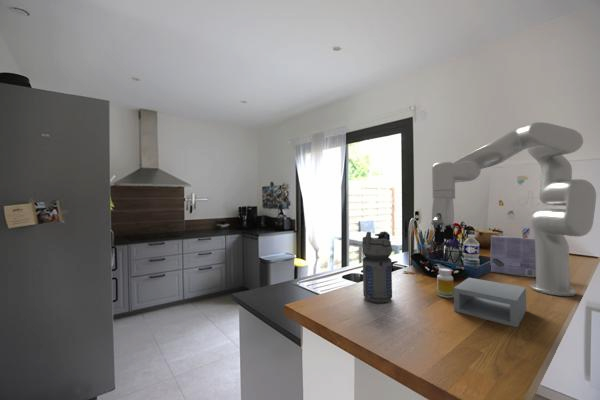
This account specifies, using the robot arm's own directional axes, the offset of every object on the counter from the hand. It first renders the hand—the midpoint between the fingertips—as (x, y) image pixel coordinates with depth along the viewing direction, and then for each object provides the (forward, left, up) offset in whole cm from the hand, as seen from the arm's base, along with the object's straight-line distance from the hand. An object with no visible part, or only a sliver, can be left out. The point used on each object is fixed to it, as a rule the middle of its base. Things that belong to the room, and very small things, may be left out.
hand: (444, 240), depth 100 cm
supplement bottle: (0, 0, -21) cm, 21 cm away
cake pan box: (-52, +13, -21) cm, 58 cm away
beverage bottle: (+20, -16, -21) cm, 33 cm away
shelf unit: (+5, +15, -21) cm, 26 cm away
